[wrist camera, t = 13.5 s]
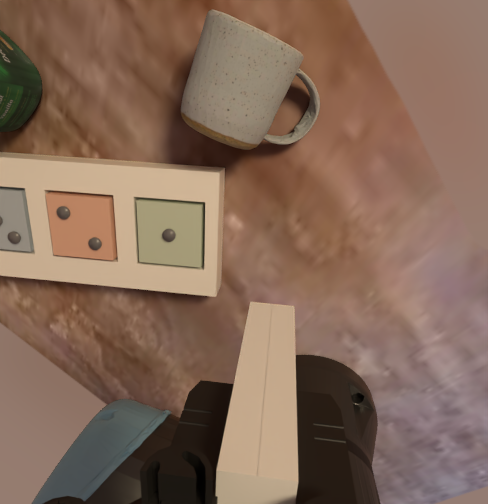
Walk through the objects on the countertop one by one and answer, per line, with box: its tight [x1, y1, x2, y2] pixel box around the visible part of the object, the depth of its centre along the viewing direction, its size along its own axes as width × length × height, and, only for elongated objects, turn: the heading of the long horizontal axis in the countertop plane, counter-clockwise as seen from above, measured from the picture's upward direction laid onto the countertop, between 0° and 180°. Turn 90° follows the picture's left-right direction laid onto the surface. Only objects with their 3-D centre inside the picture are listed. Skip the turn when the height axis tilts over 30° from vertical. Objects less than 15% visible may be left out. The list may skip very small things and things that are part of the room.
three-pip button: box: [0, 186, 34, 252], centre depth 38 cm, size 6×6×3 cm
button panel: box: [0, 152, 225, 297], centre depth 38 cm, size 12×26×3 cm, turn 87°
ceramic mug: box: [181, 10, 320, 150], centre depth 30 cm, size 11×8×8 cm
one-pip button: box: [136, 197, 205, 268], centre depth 37 cm, size 6×6×3 cm
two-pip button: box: [46, 191, 118, 260], centre depth 37 cm, size 6×6×3 cm
